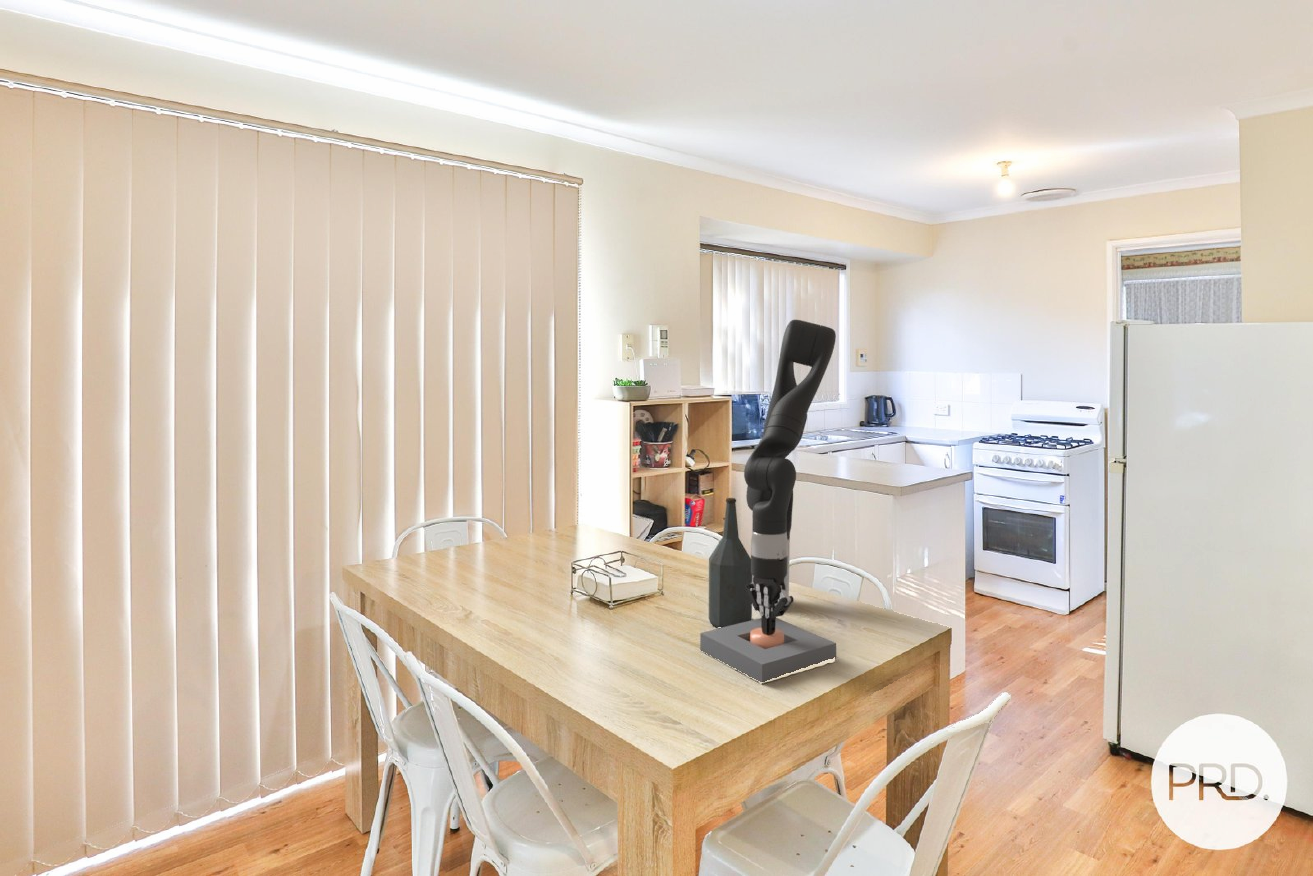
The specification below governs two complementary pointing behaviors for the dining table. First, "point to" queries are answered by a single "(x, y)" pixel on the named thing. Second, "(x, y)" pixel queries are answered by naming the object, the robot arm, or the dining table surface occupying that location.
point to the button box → (769, 662)
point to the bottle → (729, 575)
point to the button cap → (766, 638)
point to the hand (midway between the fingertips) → (768, 633)
